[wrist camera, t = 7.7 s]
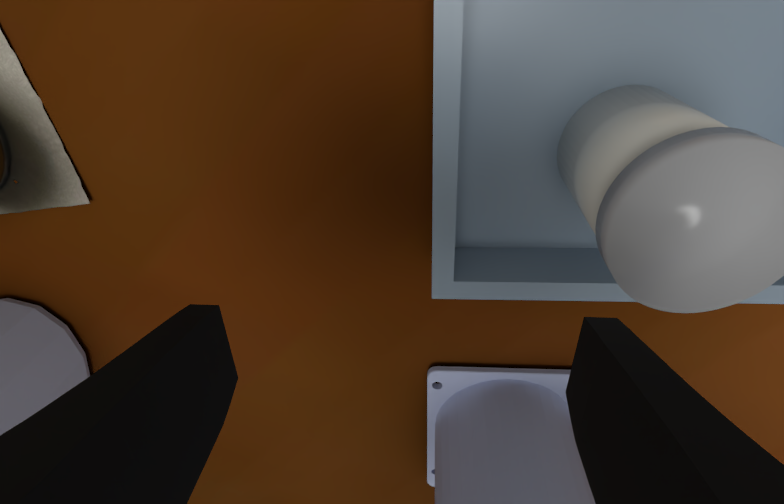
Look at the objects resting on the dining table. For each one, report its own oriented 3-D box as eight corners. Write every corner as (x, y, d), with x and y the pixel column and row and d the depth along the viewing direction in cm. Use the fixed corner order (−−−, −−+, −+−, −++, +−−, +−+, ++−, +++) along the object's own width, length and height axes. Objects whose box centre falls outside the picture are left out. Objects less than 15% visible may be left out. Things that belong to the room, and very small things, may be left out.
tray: (765, 259, 19) (815, 304, 17) (432, 257, 20) (432, 298, 18) (1004, -293, 11) (1172, -368, 9) (435, -246, 12) (435, -300, 10)
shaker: (671, 207, 18) (776, 315, 12) (545, 207, 18) (591, 311, 13) (709, 78, 16) (861, 138, 10) (562, 81, 16) (629, 141, 10)
